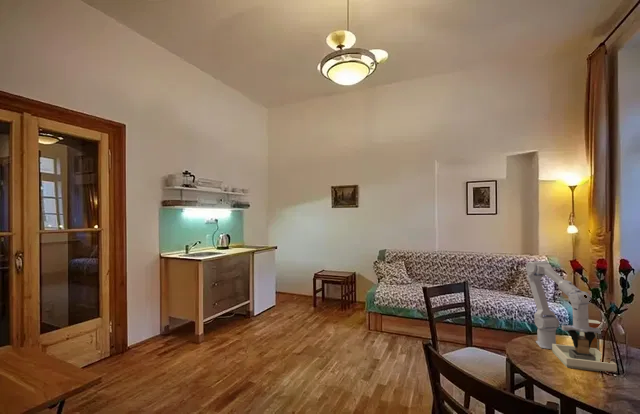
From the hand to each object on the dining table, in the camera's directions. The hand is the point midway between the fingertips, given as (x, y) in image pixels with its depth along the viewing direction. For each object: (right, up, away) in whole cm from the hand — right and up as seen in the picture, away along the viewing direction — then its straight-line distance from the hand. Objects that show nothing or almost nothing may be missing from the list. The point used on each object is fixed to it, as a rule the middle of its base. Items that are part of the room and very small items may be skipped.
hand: (581, 347), depth 148 cm
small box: (+20, -8, +18) cm, 28 cm away
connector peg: (0, -2, 0) cm, 2 cm away
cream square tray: (0, -7, 0) cm, 7 cm away
